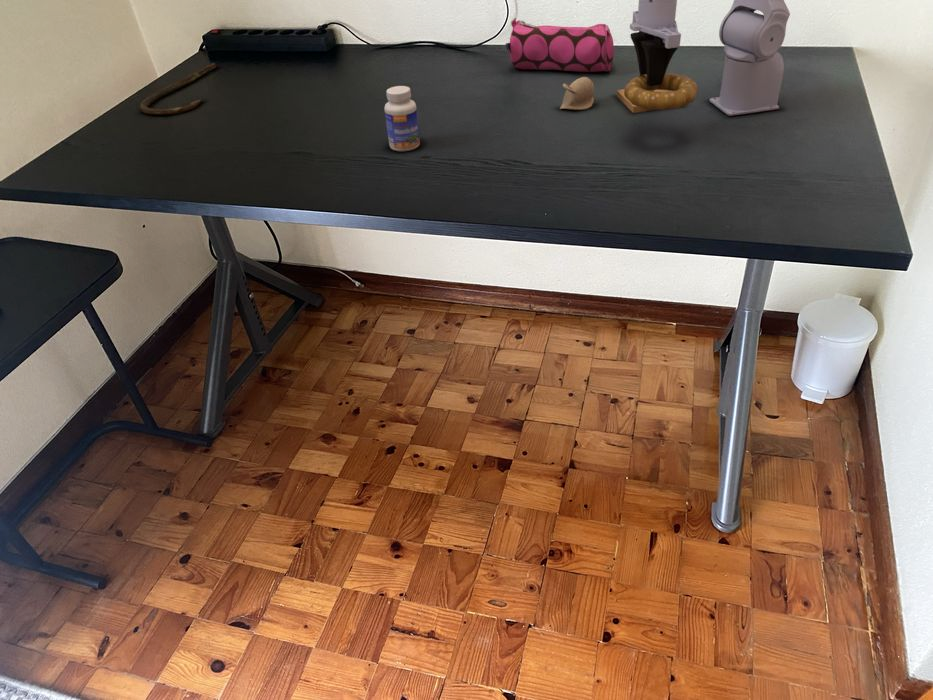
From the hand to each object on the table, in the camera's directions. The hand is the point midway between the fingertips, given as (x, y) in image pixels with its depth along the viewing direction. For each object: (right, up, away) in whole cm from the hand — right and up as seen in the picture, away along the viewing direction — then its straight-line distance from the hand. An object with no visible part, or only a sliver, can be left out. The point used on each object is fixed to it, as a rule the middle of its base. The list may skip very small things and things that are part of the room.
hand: (650, 81), depth 120 cm
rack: (+3, +2, +16) cm, 16 cm away
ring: (+1, -3, -3) cm, 4 cm away
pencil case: (-11, +14, +33) cm, 37 cm away
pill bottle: (-41, -9, +7) cm, 42 cm away
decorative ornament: (-10, +1, +16) cm, 19 cm away
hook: (-89, +12, +38) cm, 98 cm away
